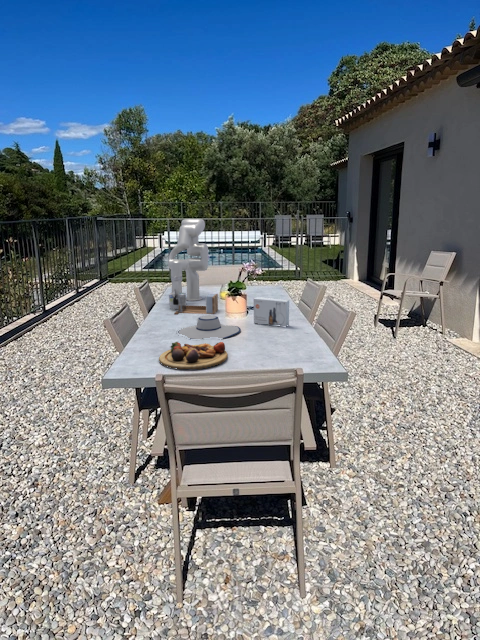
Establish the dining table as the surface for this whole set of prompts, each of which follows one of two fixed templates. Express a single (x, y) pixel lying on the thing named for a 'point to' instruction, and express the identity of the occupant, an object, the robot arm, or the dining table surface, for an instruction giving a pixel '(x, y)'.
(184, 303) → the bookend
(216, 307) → the shelf
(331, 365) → the dining table surface
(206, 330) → the sun hat
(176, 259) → the robot arm
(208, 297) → the book
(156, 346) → the dining table surface
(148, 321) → the dining table surface
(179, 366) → the wooden plate with food
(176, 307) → the light bulb box
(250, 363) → the dining table surface
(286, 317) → the skincare box
